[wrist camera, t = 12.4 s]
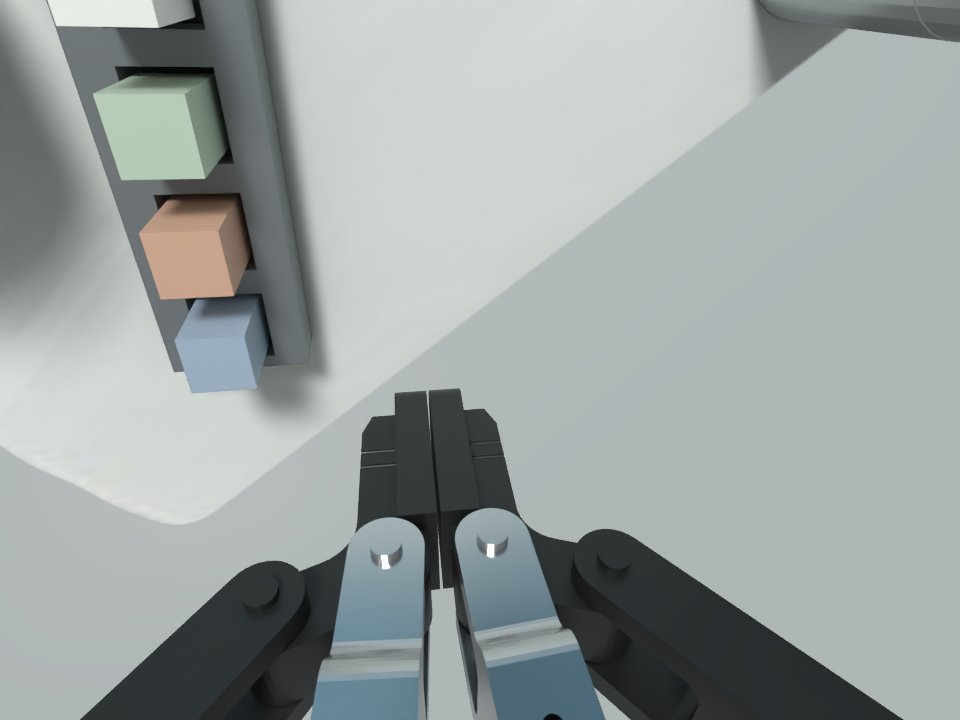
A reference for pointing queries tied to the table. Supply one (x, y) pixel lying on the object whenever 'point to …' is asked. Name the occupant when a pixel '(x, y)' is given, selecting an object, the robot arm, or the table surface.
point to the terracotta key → (197, 245)
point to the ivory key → (120, 12)
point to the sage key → (164, 125)
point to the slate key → (224, 343)
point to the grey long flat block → (242, 169)
